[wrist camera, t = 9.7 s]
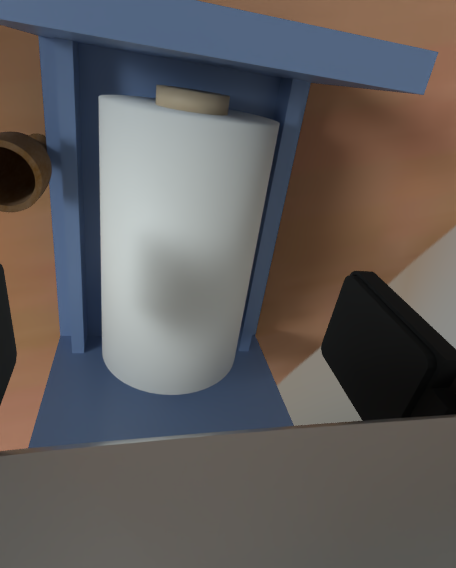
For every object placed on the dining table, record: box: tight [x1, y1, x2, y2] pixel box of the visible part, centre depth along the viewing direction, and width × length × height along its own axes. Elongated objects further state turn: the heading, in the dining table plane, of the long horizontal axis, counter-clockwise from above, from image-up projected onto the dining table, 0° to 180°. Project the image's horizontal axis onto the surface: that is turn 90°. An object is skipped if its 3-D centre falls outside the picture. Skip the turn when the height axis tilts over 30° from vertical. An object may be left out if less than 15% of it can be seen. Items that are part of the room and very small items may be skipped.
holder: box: [0, 0, 438, 448], centre depth 16 cm, size 16×11×9 cm
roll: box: [98, 85, 280, 395], centre depth 16 cm, size 12×6×6 cm, turn 172°
